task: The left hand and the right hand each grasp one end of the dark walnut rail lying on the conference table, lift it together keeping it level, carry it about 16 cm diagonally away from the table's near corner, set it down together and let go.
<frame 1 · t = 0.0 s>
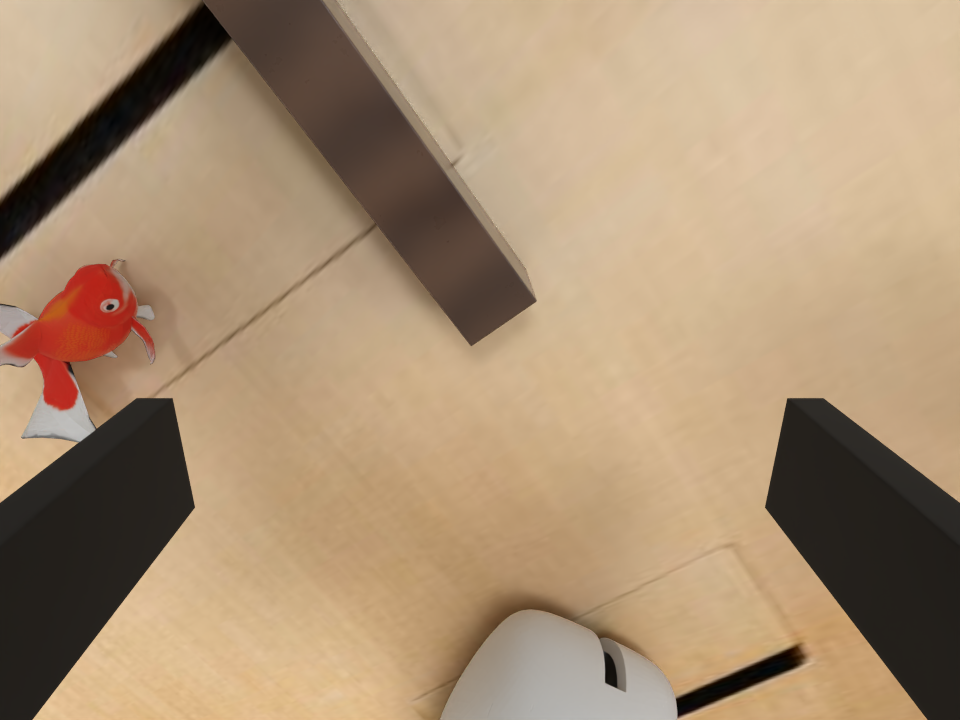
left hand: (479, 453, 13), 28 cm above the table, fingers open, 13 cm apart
rail: (377, 123, 36), on the table
projector: (530, 693, 54), on the table
fish: (105, 337, 41), on the table
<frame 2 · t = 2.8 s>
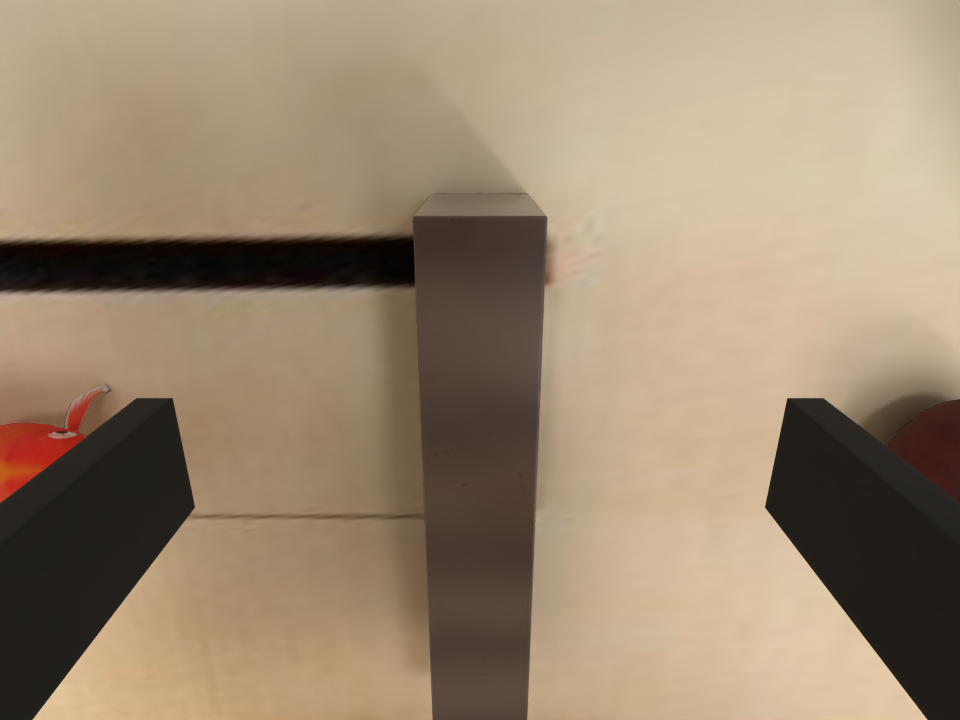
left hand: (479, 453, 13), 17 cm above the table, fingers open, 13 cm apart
rail: (479, 443, 32), on the table
dark red ball: (919, 441, 32), on the table
fish: (24, 436, 31), on the table
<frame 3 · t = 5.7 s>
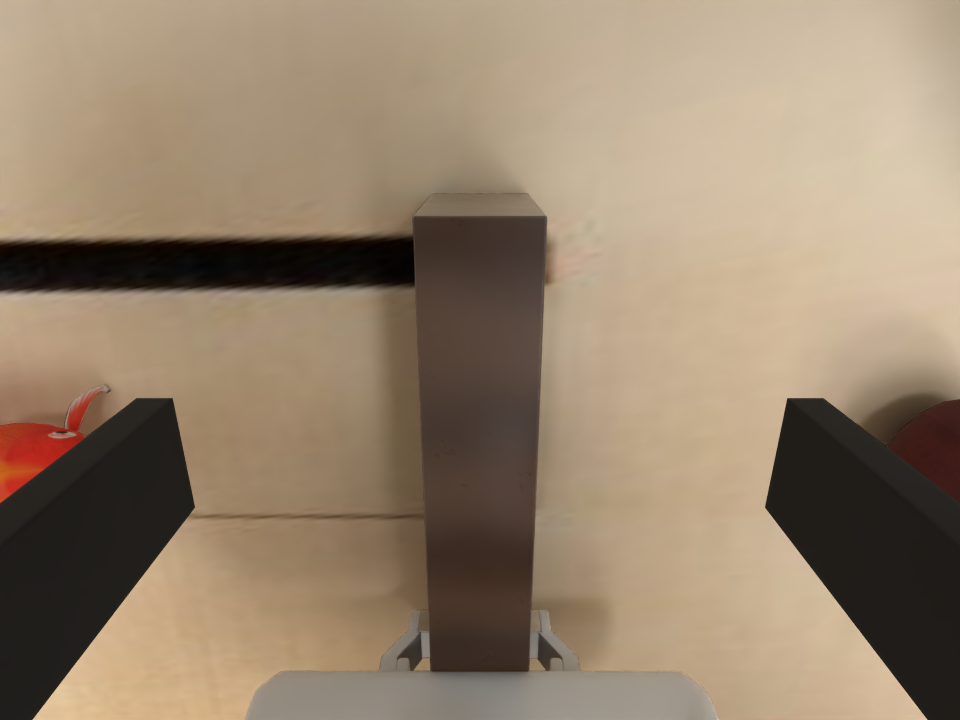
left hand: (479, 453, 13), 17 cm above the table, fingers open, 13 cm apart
rail: (479, 443, 32), on the table, touching right hand
dark red ball: (919, 441, 32), on the table
fish: (24, 436, 31), on the table
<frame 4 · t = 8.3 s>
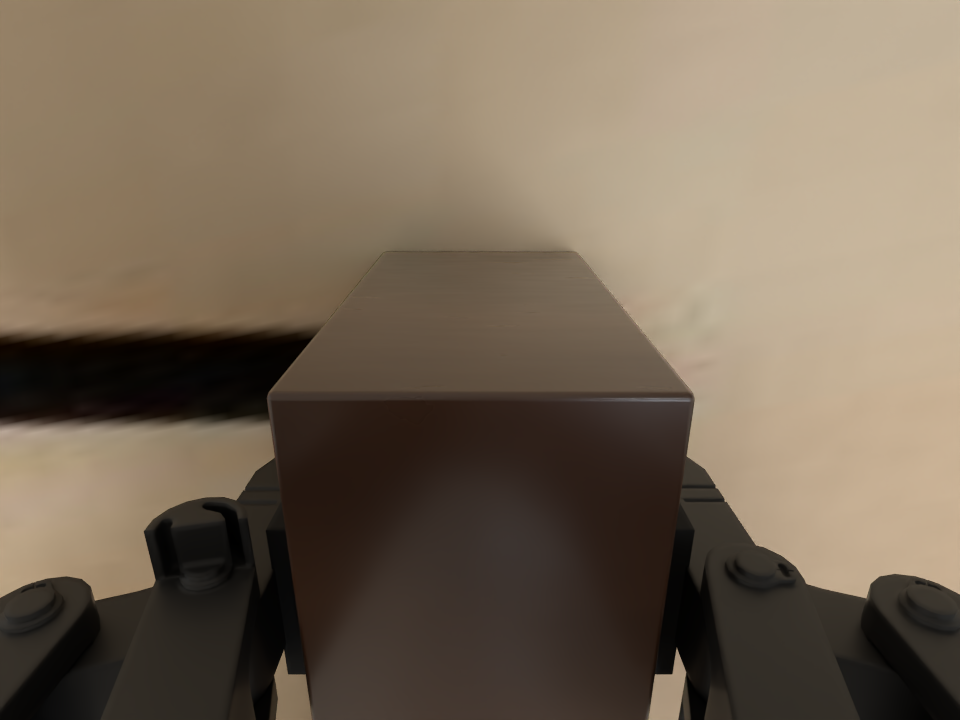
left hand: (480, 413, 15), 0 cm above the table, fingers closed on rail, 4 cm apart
rail: (480, 671, 18), on the table, touching left hand, right hand
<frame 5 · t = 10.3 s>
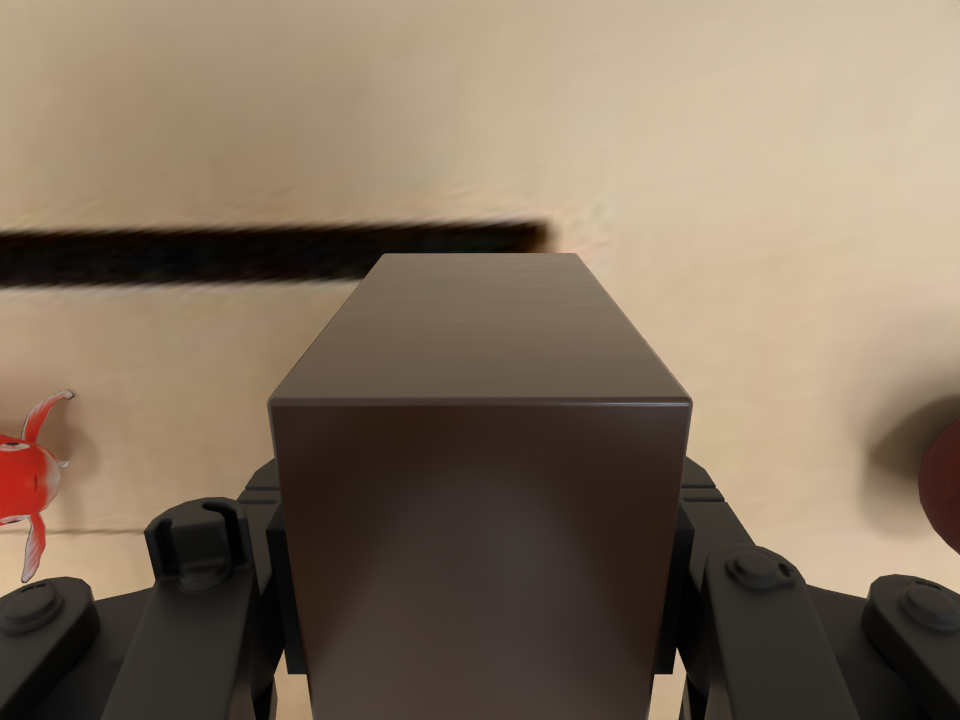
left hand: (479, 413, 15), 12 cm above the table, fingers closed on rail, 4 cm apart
rail: (480, 671, 18), point 12 cm above the table, touching left hand, right hand
dark red ball: (958, 445, 29), on the table
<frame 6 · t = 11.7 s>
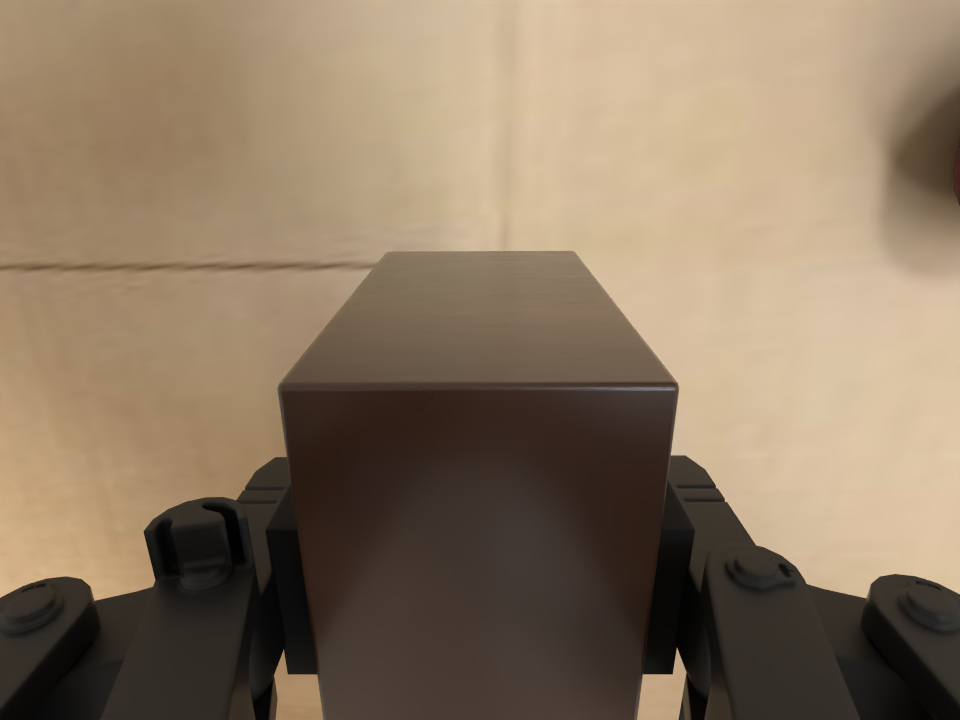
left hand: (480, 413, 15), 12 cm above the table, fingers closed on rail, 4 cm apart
rail: (482, 661, 19), point 12 cm above the table, touching left hand, right hand
when the left hand's fingers open (1 cm above the table, at t = 14.9 s): rail stays where it is, on the table.
when the right hand's fingers open (4 cm above the table, at t = 15.0 s): rail stays where it is, on the table.
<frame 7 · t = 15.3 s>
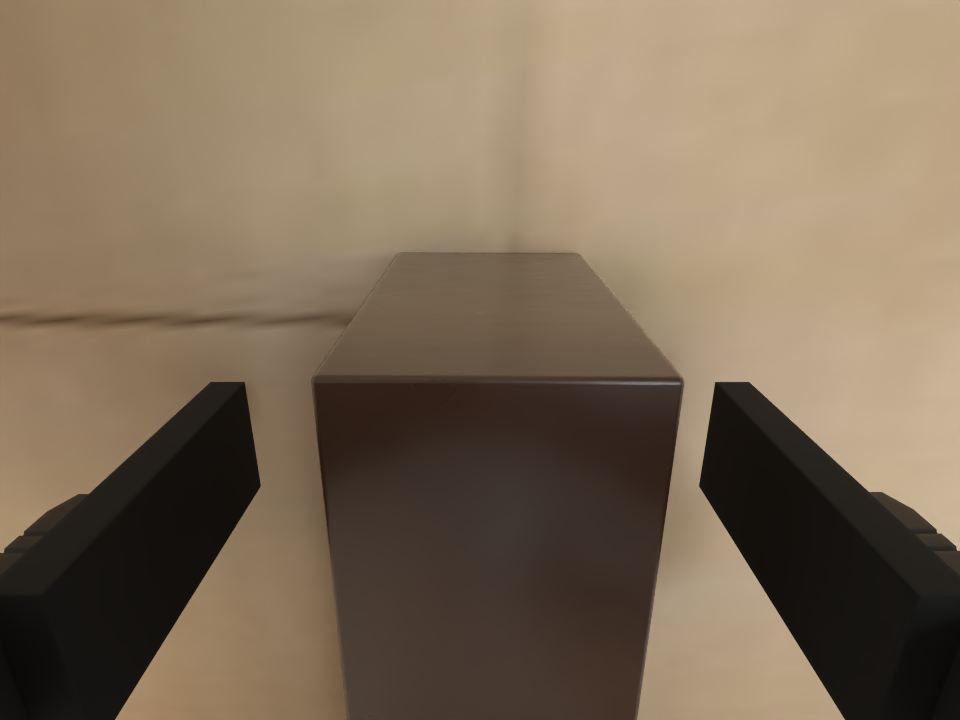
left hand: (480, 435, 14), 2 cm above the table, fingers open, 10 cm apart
rail: (484, 652, 19), on the table
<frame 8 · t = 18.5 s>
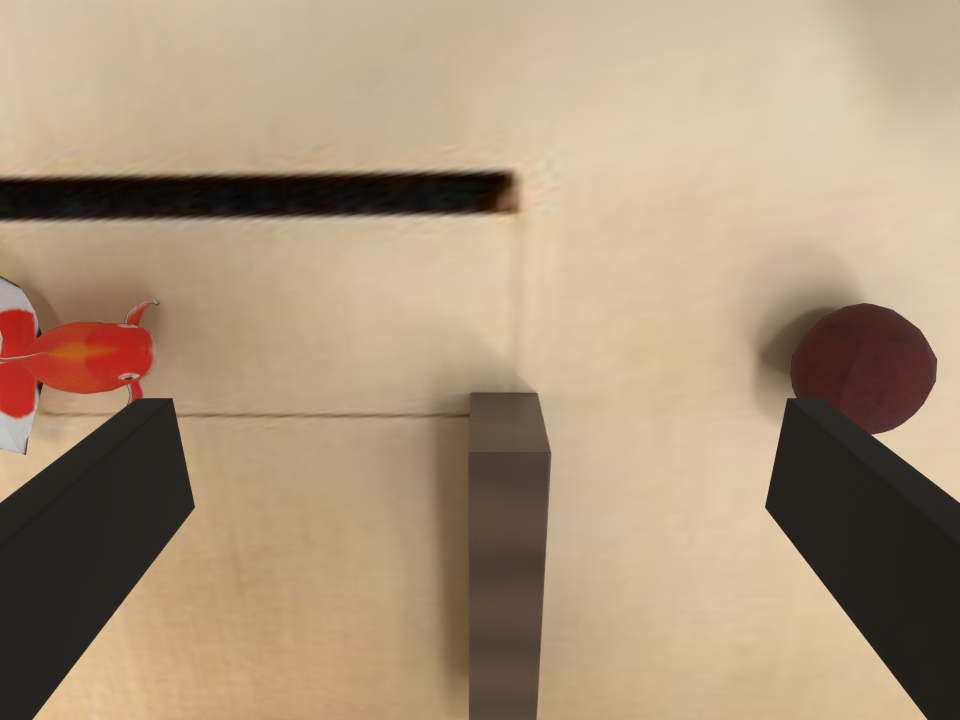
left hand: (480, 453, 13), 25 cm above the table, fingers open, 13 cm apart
rail: (500, 551, 44), on the table
dark red ball: (826, 348, 38), on the table
fish: (86, 344, 38), on the table
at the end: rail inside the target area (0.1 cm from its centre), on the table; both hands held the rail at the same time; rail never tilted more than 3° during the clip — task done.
